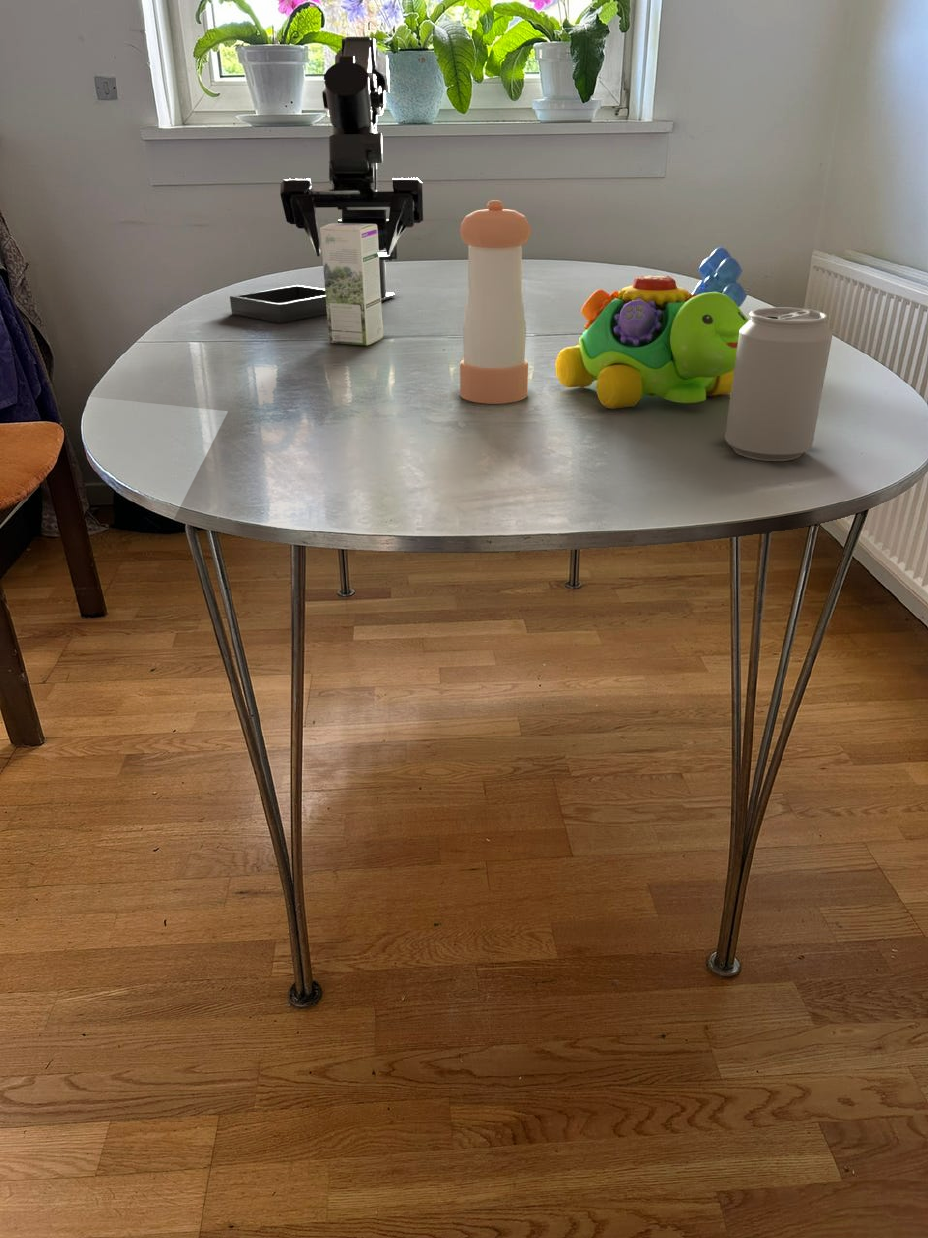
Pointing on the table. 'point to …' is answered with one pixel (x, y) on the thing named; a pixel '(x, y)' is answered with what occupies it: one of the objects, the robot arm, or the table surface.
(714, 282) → the grapes
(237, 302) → the baking tray
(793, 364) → the can
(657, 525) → the table surface
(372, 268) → the syrup box
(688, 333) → the turtle toy
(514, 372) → the pepper shaker
